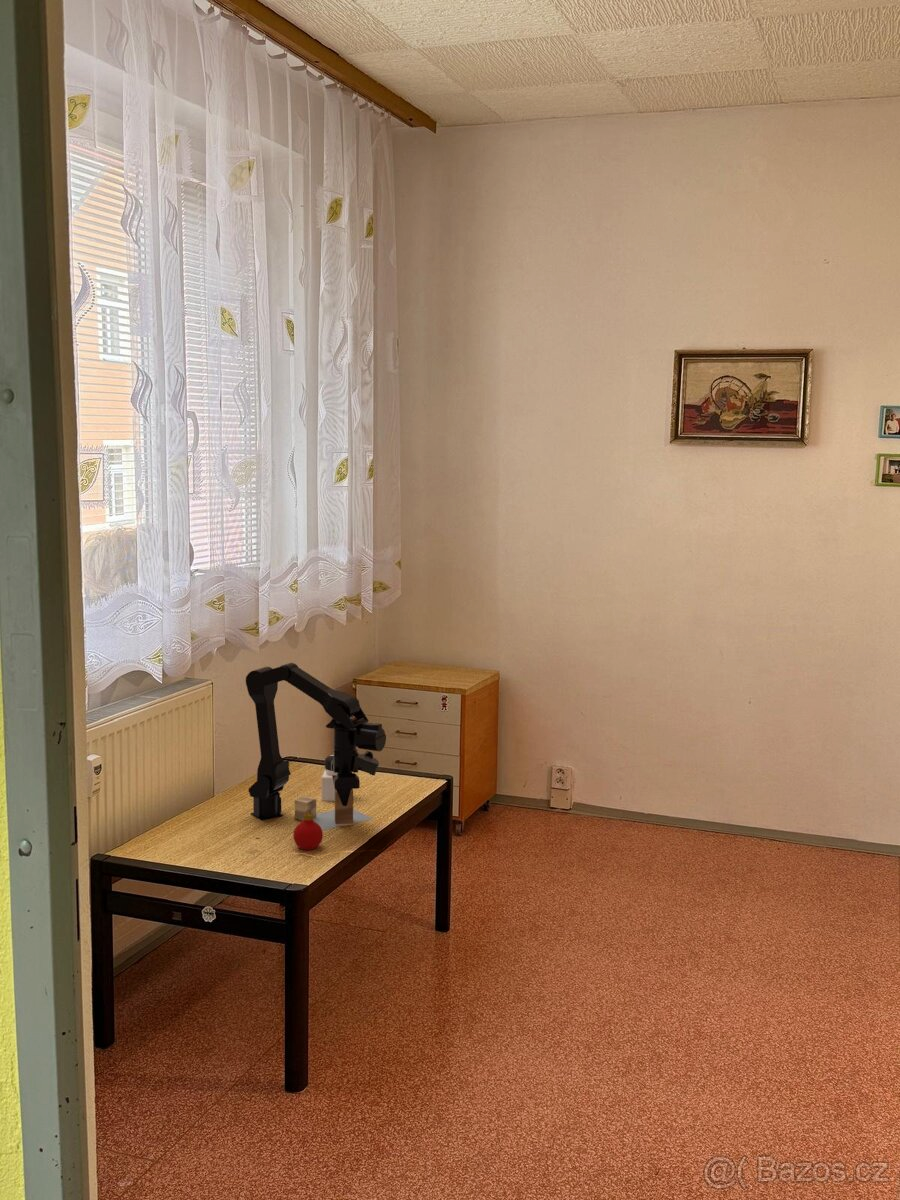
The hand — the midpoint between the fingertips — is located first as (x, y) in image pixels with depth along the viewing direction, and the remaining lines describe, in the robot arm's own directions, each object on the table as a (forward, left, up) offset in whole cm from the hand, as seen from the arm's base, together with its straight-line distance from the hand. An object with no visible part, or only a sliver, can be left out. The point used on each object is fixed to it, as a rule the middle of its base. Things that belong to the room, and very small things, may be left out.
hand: (344, 805), depth 290 cm
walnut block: (+2, +4, -6) cm, 7 cm away
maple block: (-4, +13, -6) cm, 15 cm away
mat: (+2, +8, -6) cm, 10 cm away
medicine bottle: (+12, +23, -7) cm, 27 cm away
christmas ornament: (-15, -6, -7) cm, 17 cm away
